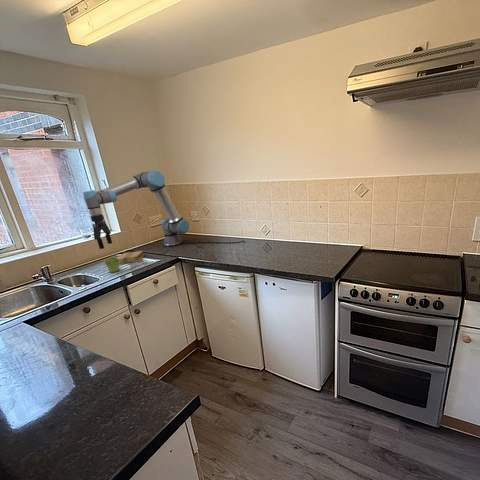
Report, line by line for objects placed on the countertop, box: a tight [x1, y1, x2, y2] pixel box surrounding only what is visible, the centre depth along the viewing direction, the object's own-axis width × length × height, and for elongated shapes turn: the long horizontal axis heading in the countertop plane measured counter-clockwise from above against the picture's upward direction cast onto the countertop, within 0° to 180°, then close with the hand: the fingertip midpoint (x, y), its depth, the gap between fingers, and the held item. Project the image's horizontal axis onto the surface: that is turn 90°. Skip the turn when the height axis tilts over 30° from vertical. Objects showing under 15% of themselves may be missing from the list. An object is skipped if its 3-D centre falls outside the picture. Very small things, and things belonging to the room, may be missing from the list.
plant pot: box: [103, 256, 120, 273], centre depth 208 cm, size 9×9×9 cm
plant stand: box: [117, 250, 146, 265], centre depth 232 cm, size 16×16×4 cm
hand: (106, 246), depth 203 cm, fingers open, 13 cm apart
